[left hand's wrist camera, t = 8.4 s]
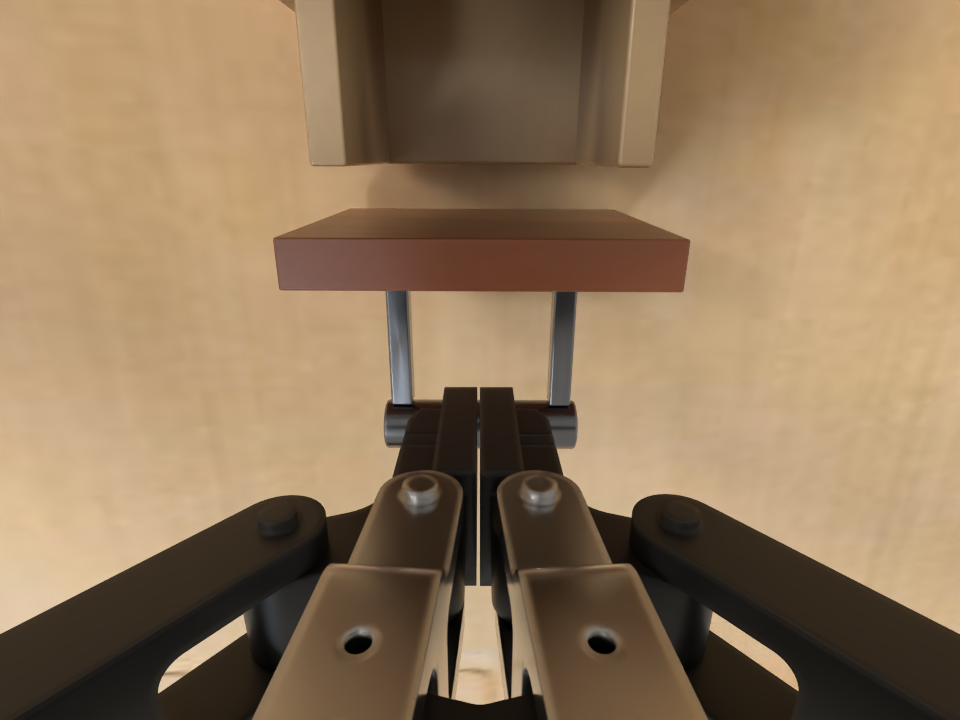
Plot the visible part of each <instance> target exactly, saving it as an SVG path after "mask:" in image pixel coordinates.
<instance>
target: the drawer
mask: <svg viewBox="0 0 960 720" xmlns="http://www.w3.org/2000/svg"><path fill="white" fill-rule="evenodd" d="M294 1H295V11H296V22H297V32H298V42H299V53H300V63H301V74H302V84H303V94H304V105H305V115H306V125H307V136H308V146H309V156H310V164H311V165H312V166H356V165H373V164H579V165H594V166H608V167H651V166H652V165H653V163H654V153H655V144H656V134H657V125H658V115H659V106H660V97H661V87H662V78H663V68H664V59H665V49H666V40H667V30H668V21H669V12H670V2H671V0H294ZM273 242H274V250H275V258H276V266H277V274H278V282H279V289H280V290H334V291H386V306H387V324H388V342H389V359H390V377H391V395H392V399H390V400H388V402H387V404H386V408H385V414H384V438H385V443H386V446H387V447H389V448H401V445H402V441H403V437H404V434H405V429H406V426H407V422H408V419H409V418H410V417H412V416H413V415H414V414H415V413H416V412H417V411H418V410H420V409H442V402H443V400H414V397H415V393H414V368H413V343H412V318H411V294H410V291H530V292H552V308H551V328H550V347H549V367H548V387H547V399H548V400H514V402H515V409H537V410H539V411H540V412H541V413H542V414H543V415H544V416H545V417H547V418H548V419H549V422H550V426H551V430H552V435H553V438H554V441H555V445H556V449H573V448H574V447H575V445H576V441H577V411H576V406H575V403H574V402H573V401H571V400H570V393H571V378H572V363H573V347H574V332H575V317H576V302H577V292H683V290H684V283H685V276H686V269H687V261H688V254H689V246H690V240H688V239H686V238H683V237H681V236H678V235H676V234H673V233H671V232H668V231H666V230H663V229H661V228H658V227H656V226H653V225H651V224H648V223H646V222H643V221H641V220H638V219H636V218H633V217H631V216H628V215H625V214H623V213H620V212H618V211H615V210H529V209H348V210H346V211H343V212H340V213H338V214H335V215H333V216H330V217H327V218H325V219H322V220H320V221H317V222H314V223H312V224H309V225H306V226H304V227H301V228H299V229H296V230H293V231H291V232H288V233H286V234H283V235H280V236H278V237H275V238H274V239H273ZM477 448H480V400H477Z"/></svg>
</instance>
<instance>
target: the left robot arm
mask: <svg viewBox="0 0 960 720" xmlns="http://www.w3.org/2000/svg"><path fill="white" fill-rule="evenodd" d="M476 566H477V387H445V389H444V395H443V402H442V409H420V410H418V411H417V412H416V413H415V414H414V415H413V416H412V417H410V418H409V419H408V422H407V426H406V429H405V434H404V437H403V441H402V445H401V448H400V452H399V455H398V459H397V463H396V466H395V470H394V474H393V478H392V479H390V480H388V481H387V482H386V483H385V484H384V485H383V486H382V487H381V488H380V490H379V492H378V494H377V497H376V499H375V501H374V503H373V504H371V505H369V506H367V507H365V508H362V509H360V510H357V511H353V512H349V513H345V514H340V515H335V516H330V517H326V512H325V509H324V507H323V506H322V505H321V504H320V503H319V502H318V501H316V500H314V499H312V498H309V497H305V496H298V495H288V496H279V497H274V498H270V499H267V500H264V501H261V502H259V503H256V504H254V505H252V506H250V507H248V508H246V509H244V510H242V511H240V512H238V513H236V514H234V515H233V516H231V517H229V518H227V519H225V520H223V521H221V522H219V523H217V524H215V525H213V526H211V527H209V528H207V529H205V530H203V531H201V532H199V533H197V534H195V535H193V536H191V537H190V538H188V539H186V540H184V541H182V542H180V543H178V544H176V545H174V546H172V547H170V548H168V549H166V550H164V551H162V552H160V553H158V554H156V555H154V556H152V557H150V558H148V559H147V560H145V561H143V562H141V563H139V564H137V565H135V566H133V567H131V568H129V569H127V570H125V571H123V572H121V573H119V574H117V575H115V576H113V577H111V578H109V579H107V580H105V581H104V582H102V583H100V584H98V585H96V586H94V587H92V588H90V589H88V590H86V591H84V592H82V593H80V594H78V595H76V596H74V597H72V598H70V599H68V600H66V601H64V602H62V603H61V604H59V605H57V606H55V607H53V608H51V609H49V610H47V611H45V612H43V613H41V614H39V615H37V616H35V617H33V618H31V619H29V620H27V621H25V622H23V623H21V624H19V625H18V626H16V627H14V628H12V629H10V630H8V631H6V632H4V633H2V634H0V720H960V634H958V633H956V632H954V631H952V630H950V629H948V628H946V627H944V626H942V625H941V624H939V623H937V622H935V621H933V620H931V619H929V618H927V617H925V616H923V615H921V614H919V613H917V612H915V611H913V610H911V609H909V608H907V607H905V606H903V605H901V604H899V603H898V602H896V601H894V600H892V599H890V598H888V597H886V596H884V595H882V594H880V593H878V592H876V591H874V590H872V589H870V588H868V587H866V586H864V585H862V584H860V583H858V582H856V581H855V580H853V579H851V578H849V577H847V576H845V575H843V574H841V573H839V572H837V571H835V570H833V569H831V568H829V567H827V566H825V565H823V564H821V563H819V562H817V561H815V560H813V559H812V558H810V557H808V556H806V555H804V554H802V553H800V552H798V551H796V550H794V549H792V548H790V547H788V546H786V545H784V544H782V543H780V542H778V541H776V540H774V539H772V538H770V537H769V536H767V535H765V534H763V533H761V532H759V531H757V530H755V529H753V528H751V527H749V526H747V525H745V524H743V523H741V522H739V521H737V520H735V519H733V518H731V517H729V516H727V515H726V514H724V513H722V512H720V511H718V510H716V509H714V508H712V507H710V506H708V505H706V504H704V503H702V502H699V501H697V500H694V499H691V498H688V497H684V496H679V495H671V494H659V495H652V496H649V497H646V498H644V499H641V500H640V501H639V502H637V503H636V505H635V506H634V508H633V511H632V518H630V517H625V516H620V515H615V514H610V513H606V512H602V511H599V510H596V509H593V508H591V507H589V506H587V504H586V501H585V499H584V497H583V494H582V492H581V490H580V488H579V487H578V486H577V485H576V484H575V483H574V482H573V481H572V480H570V479H568V478H567V477H565V476H563V472H562V468H561V465H560V461H559V457H558V453H557V449H556V445H555V441H554V438H553V435H552V430H551V426H550V422H549V419H548V418H547V417H545V416H544V415H543V414H542V413H541V412H540V411H539V410H537V409H515V402H514V395H513V388H512V387H480V586H492V603H493V606H494V609H495V611H496V633H497V641H498V649H499V657H500V665H501V672H502V680H503V688H504V696H505V700H502V701H498V702H494V703H490V704H484V705H476V704H470V703H466V702H462V701H458V700H455V696H456V688H457V680H458V672H459V664H460V657H461V649H462V641H463V633H464V592H465V586H476ZM712 612H715V613H716V614H718V615H719V616H721V617H722V618H724V619H725V620H727V621H728V622H730V623H731V624H733V625H734V626H736V627H737V628H739V629H740V630H742V631H743V632H745V633H746V634H748V635H749V636H751V637H752V638H754V639H756V640H757V641H759V642H760V643H762V644H763V645H765V646H766V647H768V648H769V649H771V650H772V651H774V652H775V653H776V654H778V655H779V656H780V657H781V658H782V659H783V660H784V661H785V662H786V663H787V664H788V665H789V667H790V668H791V669H792V671H793V673H794V675H795V677H796V679H797V682H798V687H799V691H797V690H795V689H794V688H792V687H791V686H790V685H788V684H787V683H785V682H784V681H782V680H781V679H779V678H778V677H777V676H775V675H774V674H772V673H771V672H769V671H768V670H766V669H765V668H764V667H762V666H761V665H759V664H758V663H756V662H755V661H753V660H752V659H751V658H749V657H748V656H746V655H745V654H743V653H742V652H740V651H739V650H738V649H736V648H735V647H733V646H732V645H730V644H729V643H727V642H726V641H724V640H723V639H722V638H720V637H719V636H717V635H716V634H714V633H713V632H711V631H710V630H709V628H710V623H711V618H712ZM242 614H244V619H245V624H246V629H247V633H246V634H244V635H243V636H241V637H240V638H238V639H237V640H235V641H234V642H233V643H231V644H230V645H228V646H227V647H225V648H224V649H222V650H221V651H220V652H218V653H217V654H215V655H214V656H212V657H211V658H209V659H208V660H207V661H205V662H204V663H202V664H201V665H199V666H198V667H196V668H195V669H194V670H192V671H191V672H189V673H188V674H186V675H185V676H183V677H182V678H181V679H179V680H178V681H176V682H175V683H173V684H172V685H170V686H169V687H168V688H166V689H165V690H163V691H162V692H160V693H159V694H158V687H159V683H160V681H161V678H162V676H163V675H164V673H165V671H166V670H167V669H168V667H169V666H170V665H171V664H172V663H173V662H174V661H175V660H176V659H177V658H178V657H179V656H181V655H182V654H183V653H185V652H186V651H188V650H189V649H191V648H192V647H194V646H195V645H197V644H198V643H200V642H201V641H203V640H204V639H206V638H207V637H209V636H211V635H212V634H214V633H215V632H217V631H218V630H220V629H221V628H223V627H224V626H226V625H227V624H229V623H230V622H232V621H233V620H235V619H236V618H238V617H239V616H241V615H242Z"/></svg>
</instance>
